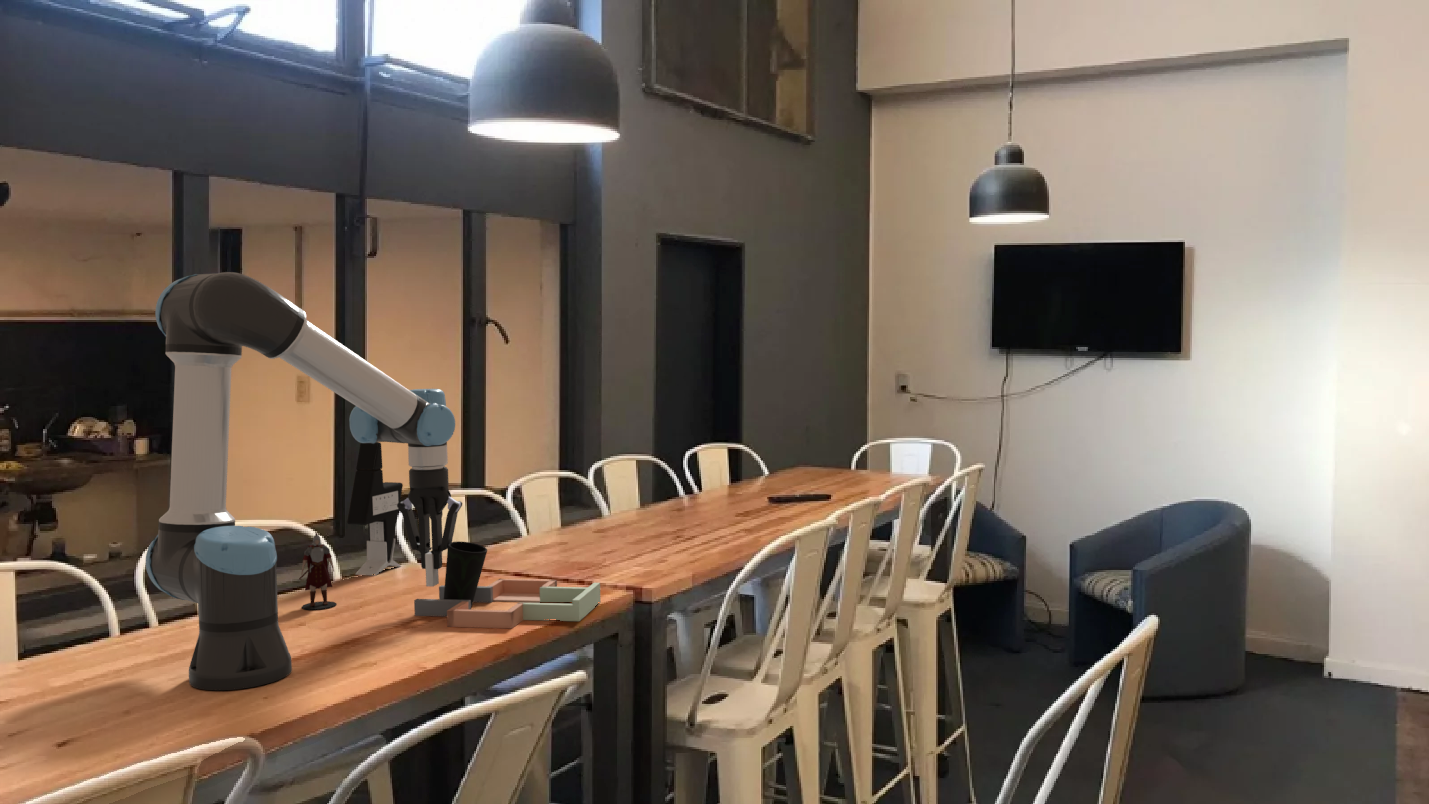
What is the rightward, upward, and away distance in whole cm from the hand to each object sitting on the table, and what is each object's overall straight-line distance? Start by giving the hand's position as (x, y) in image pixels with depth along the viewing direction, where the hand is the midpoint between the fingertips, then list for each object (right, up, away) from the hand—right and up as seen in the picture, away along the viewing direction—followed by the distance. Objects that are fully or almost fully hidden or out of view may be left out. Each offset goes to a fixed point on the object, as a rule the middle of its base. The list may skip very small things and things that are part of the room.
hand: (432, 584), depth 224 cm
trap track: (+15, -4, -2) cm, 16 cm away
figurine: (-24, -5, +3) cm, 24 cm away
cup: (+5, -4, -1) cm, 7 cm away
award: (-22, -3, +37) cm, 43 cm away
